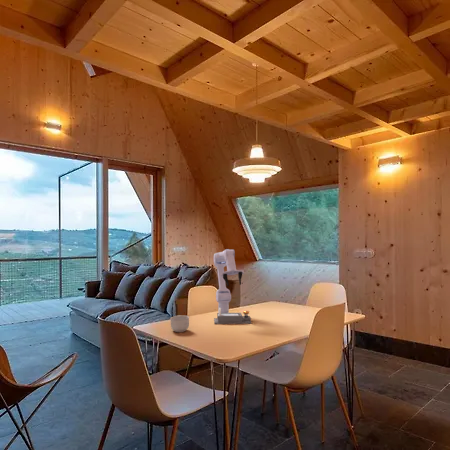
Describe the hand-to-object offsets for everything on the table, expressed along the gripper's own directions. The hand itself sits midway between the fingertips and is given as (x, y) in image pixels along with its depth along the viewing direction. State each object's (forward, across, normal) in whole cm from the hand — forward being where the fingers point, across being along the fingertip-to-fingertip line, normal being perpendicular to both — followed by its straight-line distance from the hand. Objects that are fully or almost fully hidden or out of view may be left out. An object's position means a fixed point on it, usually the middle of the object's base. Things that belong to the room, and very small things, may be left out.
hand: (234, 284), depth 231 cm
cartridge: (+14, -5, +20) cm, 25 cm away
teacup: (+24, -36, +3) cm, 43 cm away
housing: (+16, -3, +21) cm, 26 cm away
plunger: (+14, +7, +19) cm, 25 cm away
